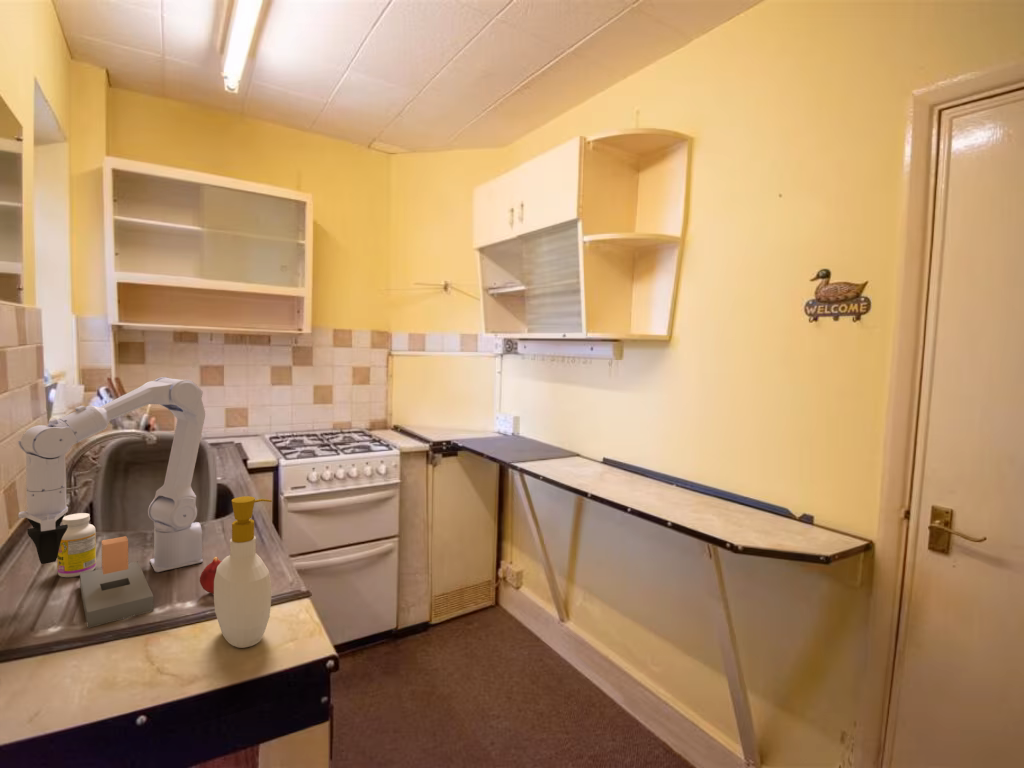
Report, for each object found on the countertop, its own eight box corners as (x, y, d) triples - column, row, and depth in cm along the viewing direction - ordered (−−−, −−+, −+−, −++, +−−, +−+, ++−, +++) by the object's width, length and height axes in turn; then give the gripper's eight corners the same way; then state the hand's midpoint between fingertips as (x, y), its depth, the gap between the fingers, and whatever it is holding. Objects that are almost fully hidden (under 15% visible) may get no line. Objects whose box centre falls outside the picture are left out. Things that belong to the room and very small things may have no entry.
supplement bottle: (58, 569, 115) (57, 514, 114) (96, 563, 120) (95, 509, 119) (56, 581, 110) (55, 523, 109) (96, 573, 114) (95, 518, 113)
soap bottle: (286, 643, 92) (288, 502, 90) (233, 664, 86) (234, 513, 84) (254, 612, 102) (255, 484, 100) (204, 629, 95) (204, 493, 93)
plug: (126, 564, 107) (126, 536, 106) (128, 569, 104) (128, 540, 104) (101, 569, 104) (101, 540, 103) (103, 574, 102) (103, 545, 101)
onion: (237, 591, 110) (237, 555, 109) (212, 603, 105) (212, 565, 104) (219, 585, 112) (219, 549, 112) (193, 596, 107) (193, 559, 106)
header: (137, 574, 115) (137, 561, 115) (153, 610, 101) (153, 595, 101) (80, 586, 108) (79, 573, 108) (87, 628, 94) (87, 612, 94)
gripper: (18, 482, 101) (20, 548, 102) (17, 500, 91) (19, 574, 92) (65, 477, 106) (66, 540, 107) (69, 494, 96) (70, 564, 97)
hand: (48, 555), depth 100 cm, fingers open, 7 cm apart
